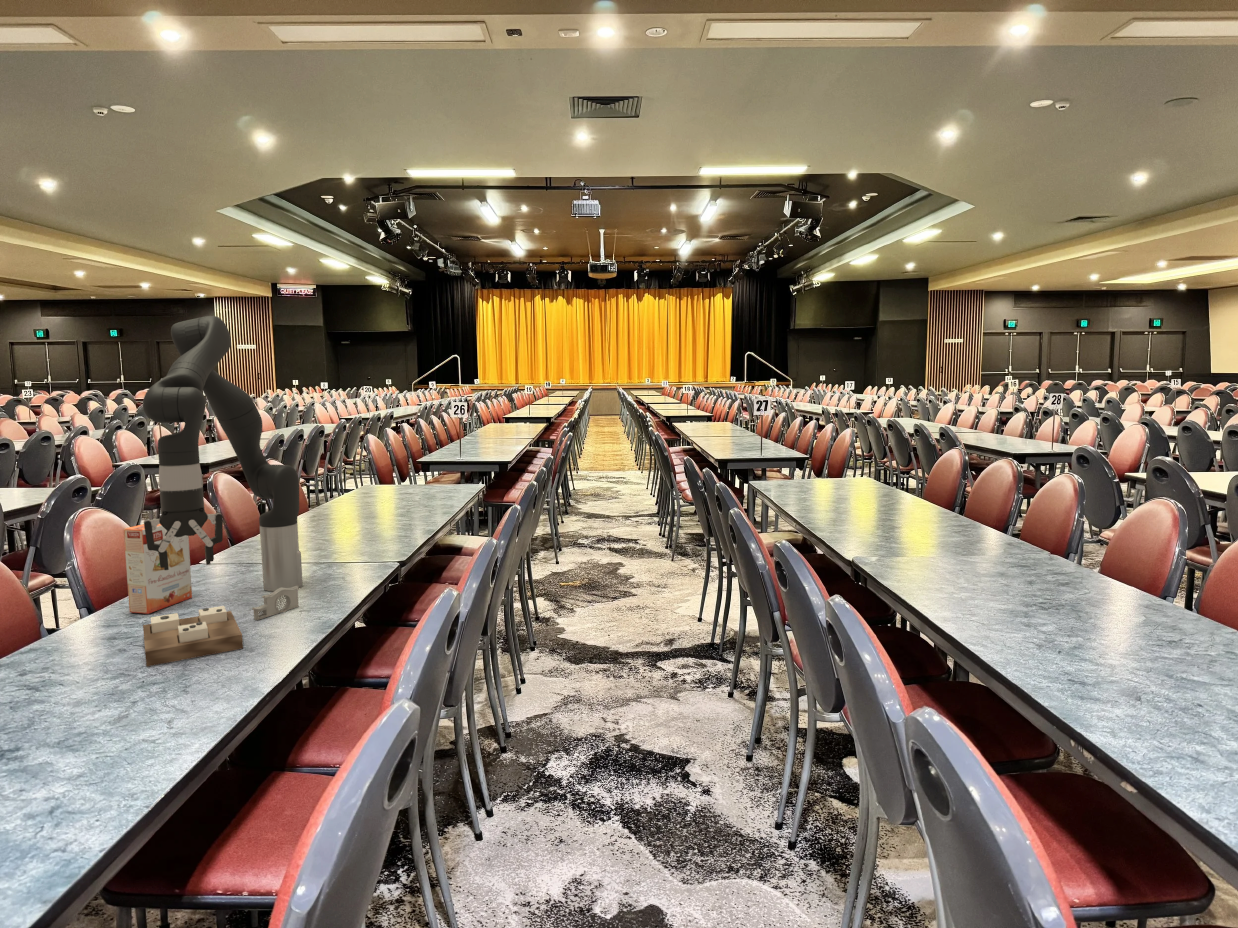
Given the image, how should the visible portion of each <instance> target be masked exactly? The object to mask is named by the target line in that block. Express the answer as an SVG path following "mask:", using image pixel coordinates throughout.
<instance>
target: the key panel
mask: <svg viewBox="0 0 1238 928" xmlns="http://www.w3.org/2000/svg"><path fill="white" fill-rule="evenodd" d="M226 611H227V610H226ZM198 622H200V621H199V615H197V616H196V615H195V616H192V617H186V618H179V624H180V626H182V625H188V624H194V623H198ZM206 625H207V628H208V638H206V639H200V640H195V641H189V642H183V643H179V634H178V629H175V630H169V631H163V632H157V633H152V627H151V623H147V624H143V625H142V628H143V629H142V630H143V631H142V633H143V641H144V642H143V643H144V653H145V654H144V655H145V665H146V667H147V668H148V667H151V666H156V665H157V666H159V665H163V664H167V663H174V662H178V661H179V662H180V661H183V660H188V659H189V660H190V659H193V658H200V657H204V656H210V655H217V654H220V653H226V652H232V651H238V650H241V649H244V643H243V634H242V632H241V629H240V627H239V625H238V623H237V621H236V619H235V616H234V615H233V612H232V610H228V611H227V621H223V622H217V623H211V624H206Z"/></svg>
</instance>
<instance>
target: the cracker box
mask: <svg viewBox="0 0 1238 928" xmlns="http://www.w3.org/2000/svg"><path fill="white" fill-rule="evenodd" d="M152 532H153V539H154V543H156V544H160V542H161V541H162V539H163V537H164V535H165V533H166V532H167V530H166V529H165V528H164V527H163V526H162V525H161V524H158V525H157V528H156V530H154V531H152ZM189 537H190V536H186V535H185V536H182V537H175V536H174V537H173V539H172V540H171V542H170V543H169V545H168V547H167V548H166V550H167V556H168V568H169V570H164V568H161V566H160V561H159V553H158V552H157V551H153V550H152V551H150V550H148V547H147V541H146V534H145V528H144V523H143V524H142V523H141V524H139V525H134V526H130V527H129V526H128V527H125V528H123V538H124V552H125V555H124V556H125V568H126V580H127V581H126V582H127V594H128V609H129V613H133V614H144V615H149V614H152V613H154V612H157V611H161V610H163V609H165V608H167V607H168V608H169V607H171V606H174V605H176V604H179V603H182V602H185V601H186V600H190V599H192V598H193V592H192V591H193V589H192V587H193V586H192V574H191V573H192V572H191V557H190V555H191V554H190V553H191V552H190V541H189V540H190V539H189Z"/></svg>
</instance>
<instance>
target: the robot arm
mask: <svg viewBox="0 0 1238 928" xmlns="http://www.w3.org/2000/svg"><path fill="white" fill-rule="evenodd" d="M170 328H171V329H170V335H171V339H172V342H173V344H174V347H175V349H176V350H177V352H178V354H179V357H178V358H177V359H175V360H174V361H173V363H172V364H171V366H170V368H169V370H168V371H167V373H166V376H164V377H162V378H161V379H160V380H158V381H157V382H155V383H154V384H152V385H151V386H150V387H149V388H148V390H147V391H146V392H145V394H144V397H143V400H142V409H143V412H144V414H145V415H146V417H147V418H148V419H149V420H151V421H152V422H154V423H159V424H160V423H161V424H162V423H163V424H164V423H166V424H167V423H172V424H173V423H184V426H183V429H181V431H179V432H176V433H171V434H167V435H162V436H161V437H159V438H158V440H157V451H158V465H159V467H158V488H159V496H160V497H159V498H160V510H161V514H160V517H159V518H154V519H148V518H147V519H144V521H143V524H144V528H145V534H146V541H147V547H148V550H150V551H152V550H153V551H157V552H158V553H159V561H160V566H161V568H164V570H169V568H168V556H167V550H166V548H167V547H168V545H169V543H170V542H171V540H172V539H173V537H174V536H175V537H182V536H185V535H186V536H189V537H193V536H195V535H197V536H198V537H199V538H200V539H201V540H202V542H203V543H204V544H205V545H204V554H205V564H206V566H208V565H209V566H210V565H211V563H212V562H214V560H215V556H214V555H215V554H214V546H215V545H217V544H219V543H222V542H223V540H224V539H223V538H224V537H223V536H224V532H223V531H224V530H223V528H224V527H223V516H224V515H222V513H221V512H215V513H207V512H206V510H205V497H204V487H203V486H204V480H203V474H202V469H201V461H200V451H199V450H200V448H199V441H200V432H201V427H202V423H203V421H204V420H203V419H204V416H205V412H206V400H207V402H208V404H209V405H210V407H211V409H212V412H213V413H214V415H215V418H216V420H217V421H218V423H219V425H220V427H221V428H222V430H223V432H224V434H225V436H226V438H227V439H228V440H229V443H230V445H231V447H232V450H233V452H234V453H235V456H236V457H237V460H238V462H239V464H240V466H241V469H242V472H243V474H244V477H245V479H246V481H247V484H248V486H249V489H250V490H251V492H252V493H253V494H254V496H256V497H258V498H260V499H265V500H273V503H272V509H271V510H269V511H266V512H263V513H262V514H260V515H259V519H258V522H259V538H260V539H259V540H260V551H261V552H260V553H261V568H262V583H263V590H265V591H266V592H267V591H268V592H274V591H275V590H277V589H279V588H292V587H294V586H298V588H300V587H303V586H304V583H303V582H304V580H303V567H302V563H303V562H302V552H301V550H300V545H299V528H298V526H299V525H298V517H299V512H300V478H299V474H298V472H297V470H296V469H295V467H293V466H292V465H288V464H270V463H269V462H268V461H267V458H266V457H265V456H264V453H263V451H262V448H261V439H262V438H261V437H262V433H263V420H262V417H261V414H260V412H259V410H258V408H257V406H256V403H255V401H254V400H253V398H252V397H251V395H249V393H248V392H246V391H245V390H243V388H241V387H239V386H238V385H236V384H234V383H233V382H231V381H230V380H228V379H226V378H225V377H223V376H221V374H219V373H218V372H217V371H215V369H214V368H215V367H216V366H217V365H218V364H219V362H221V360H222V359H223V358H224V357H225V356H226V354H228V352H229V351H230V348H231V344H232V339H231V338H232V337H231V334H230V331H229V329H228V327H227V325H226V323H225V321H223V319H222V318H220V317H218V316H216V315H206V316H202V317H201V316H200V317H196V318H193V319H192V318H191V319H187V320H183V321H179V322H176V323H174V324H172V326H171V327H170ZM208 520H210V523H211V525H214V536H213V537H209V536H208V534H207V532H205V530H204V529H203V526H205V524H206V522H207V521H208ZM158 524H161V525H162V526H163V527H164V528H165V529H166V530H167V532H166V533H165V535H164V537H163V539H162V541H161V542H160V544H156V543H154V539H153V532H152V531H154V530H156V528H157V525H158Z"/></svg>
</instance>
